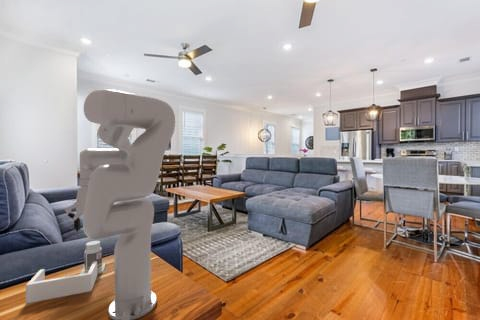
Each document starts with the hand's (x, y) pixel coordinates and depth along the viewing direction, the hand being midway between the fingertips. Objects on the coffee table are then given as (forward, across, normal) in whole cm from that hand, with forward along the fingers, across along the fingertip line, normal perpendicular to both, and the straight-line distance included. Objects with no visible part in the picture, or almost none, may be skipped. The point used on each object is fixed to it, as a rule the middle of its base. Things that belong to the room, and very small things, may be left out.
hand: (93, 228), depth 87 cm
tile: (+16, +1, -1) cm, 16 cm away
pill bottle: (+16, +1, -1) cm, 16 cm away
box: (+16, +7, +9) cm, 20 cm away
